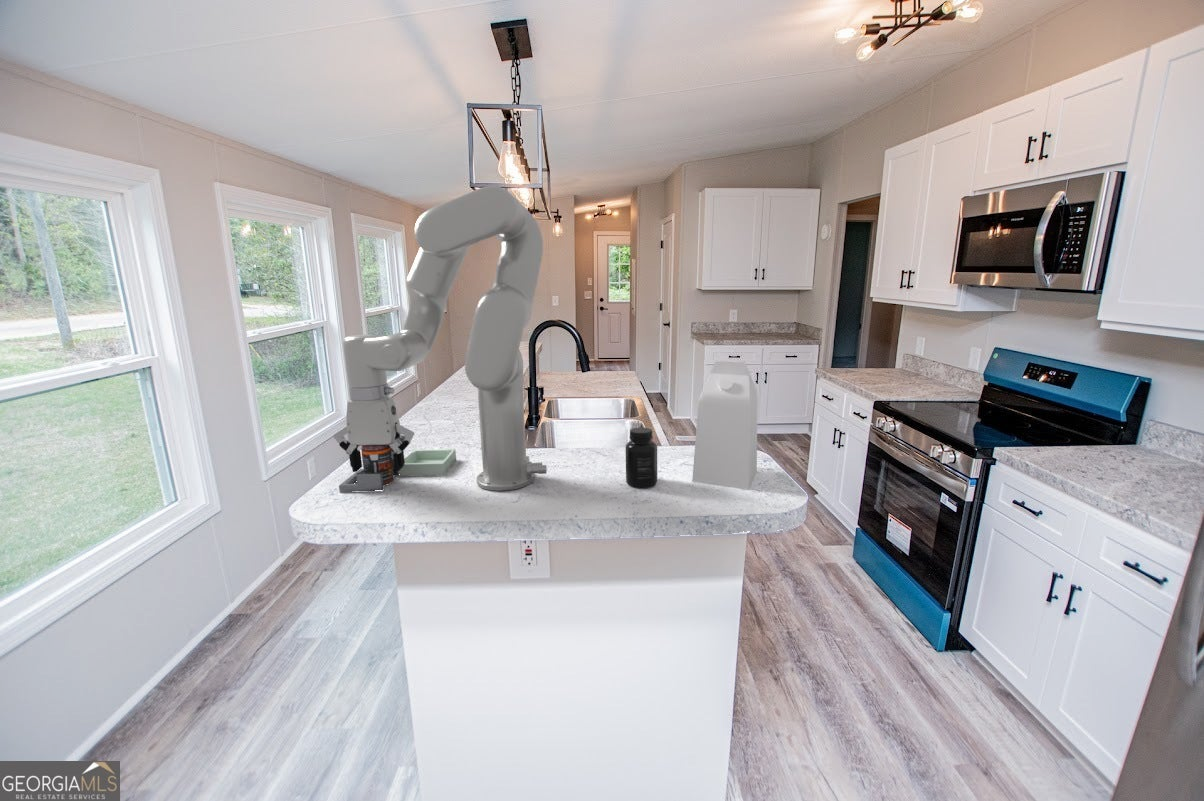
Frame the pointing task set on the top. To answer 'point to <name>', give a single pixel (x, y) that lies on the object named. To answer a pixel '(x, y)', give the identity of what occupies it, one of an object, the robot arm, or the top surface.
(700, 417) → the milk
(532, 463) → the robot arm
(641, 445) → the supplement bottle
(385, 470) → the supplement bottle
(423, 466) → the tray
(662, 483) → the top surface
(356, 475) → the bracket
